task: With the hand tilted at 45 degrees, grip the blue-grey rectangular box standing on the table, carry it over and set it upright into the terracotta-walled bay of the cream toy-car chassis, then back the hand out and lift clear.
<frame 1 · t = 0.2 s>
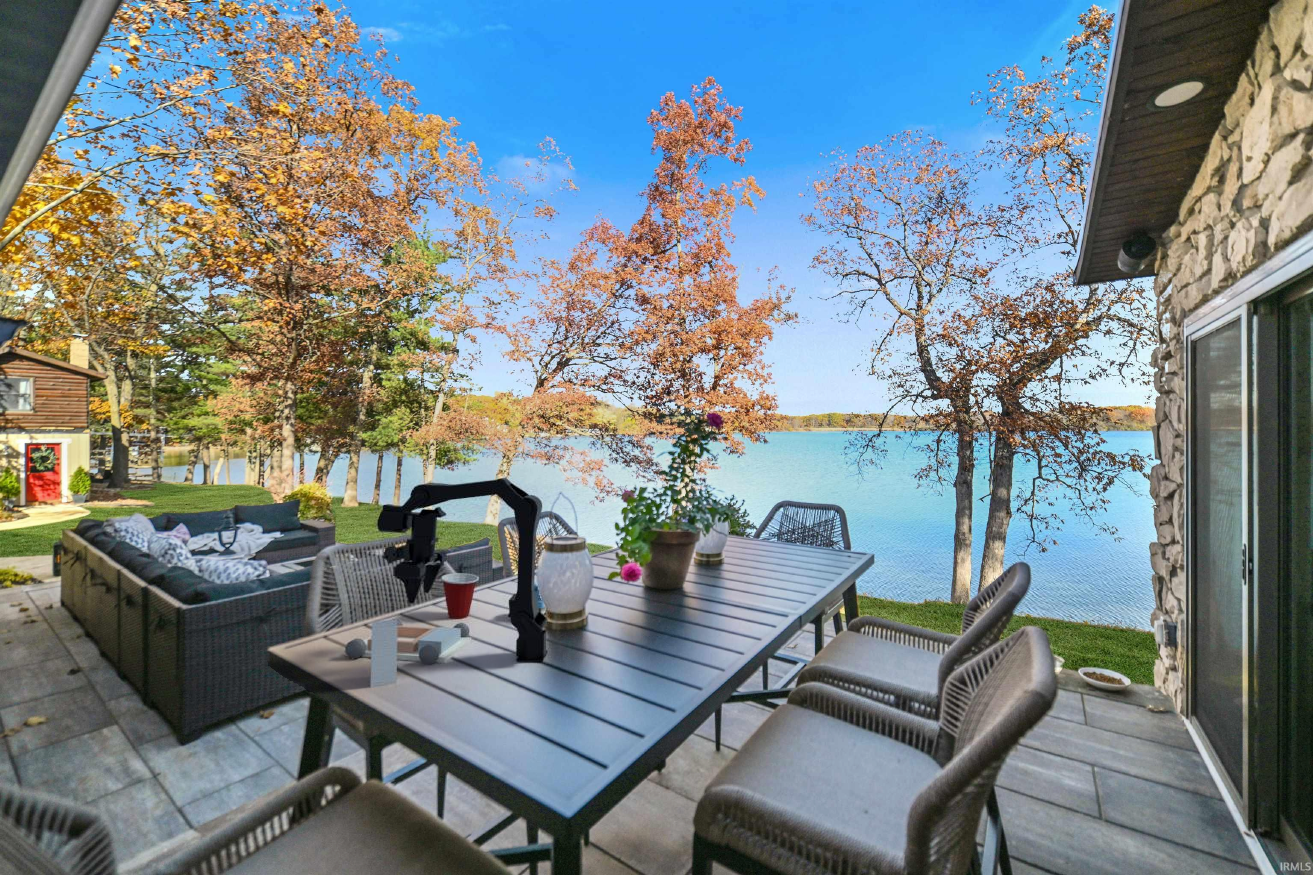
hand: (419, 597, 138), 14 cm above the table, tool pointing down, fingers open, 9 cm apart
blue-grey rectangular box: (383, 680, 124), on the table
chassis: (410, 648, 143), on the table
plastic cup: (459, 616, 170), on the table
toy excavator: (538, 619, 169), on the table
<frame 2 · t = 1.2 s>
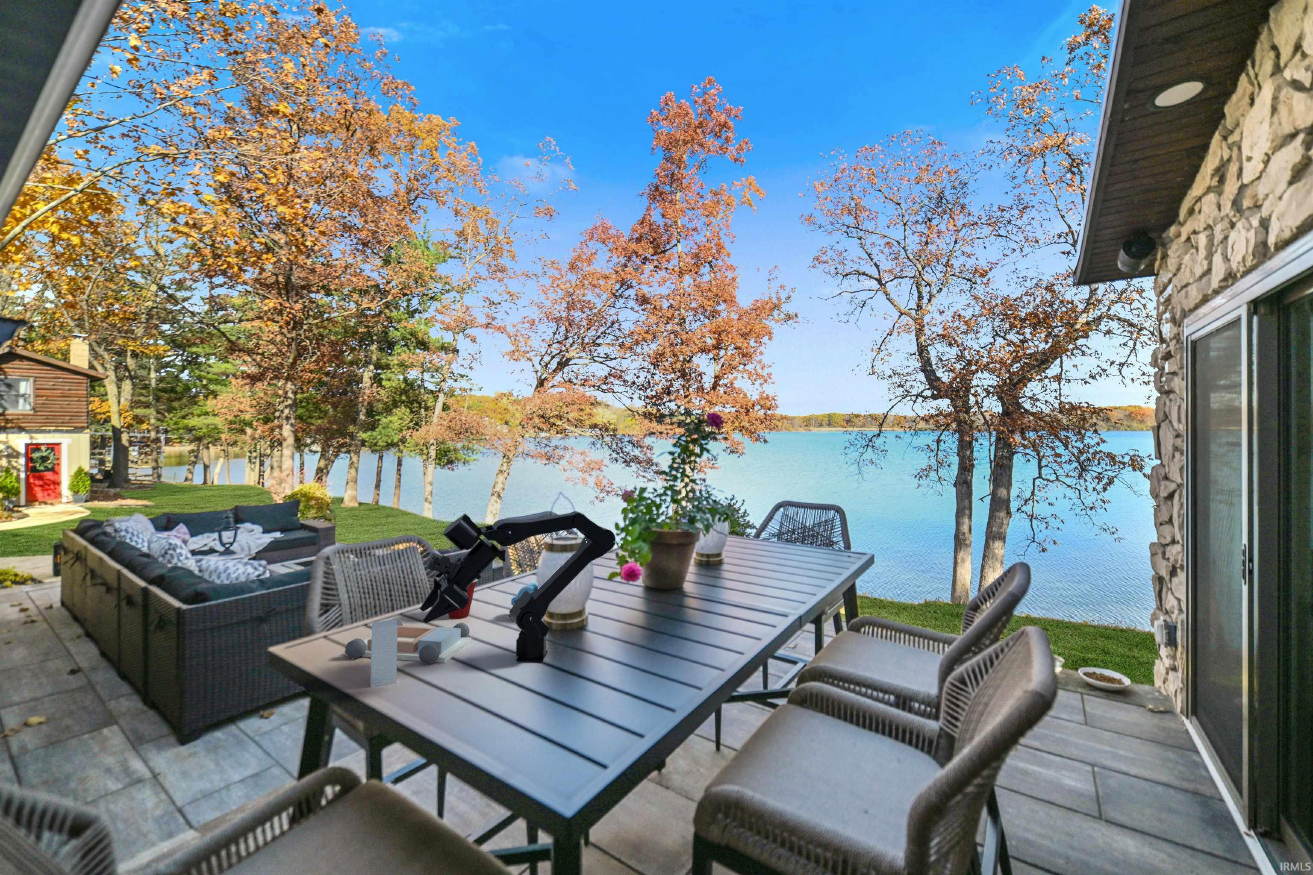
hand: (422, 615, 128), 13 cm above the table, tool tilted 45°, fingers open, 9 cm apart
nothing on the table moved.
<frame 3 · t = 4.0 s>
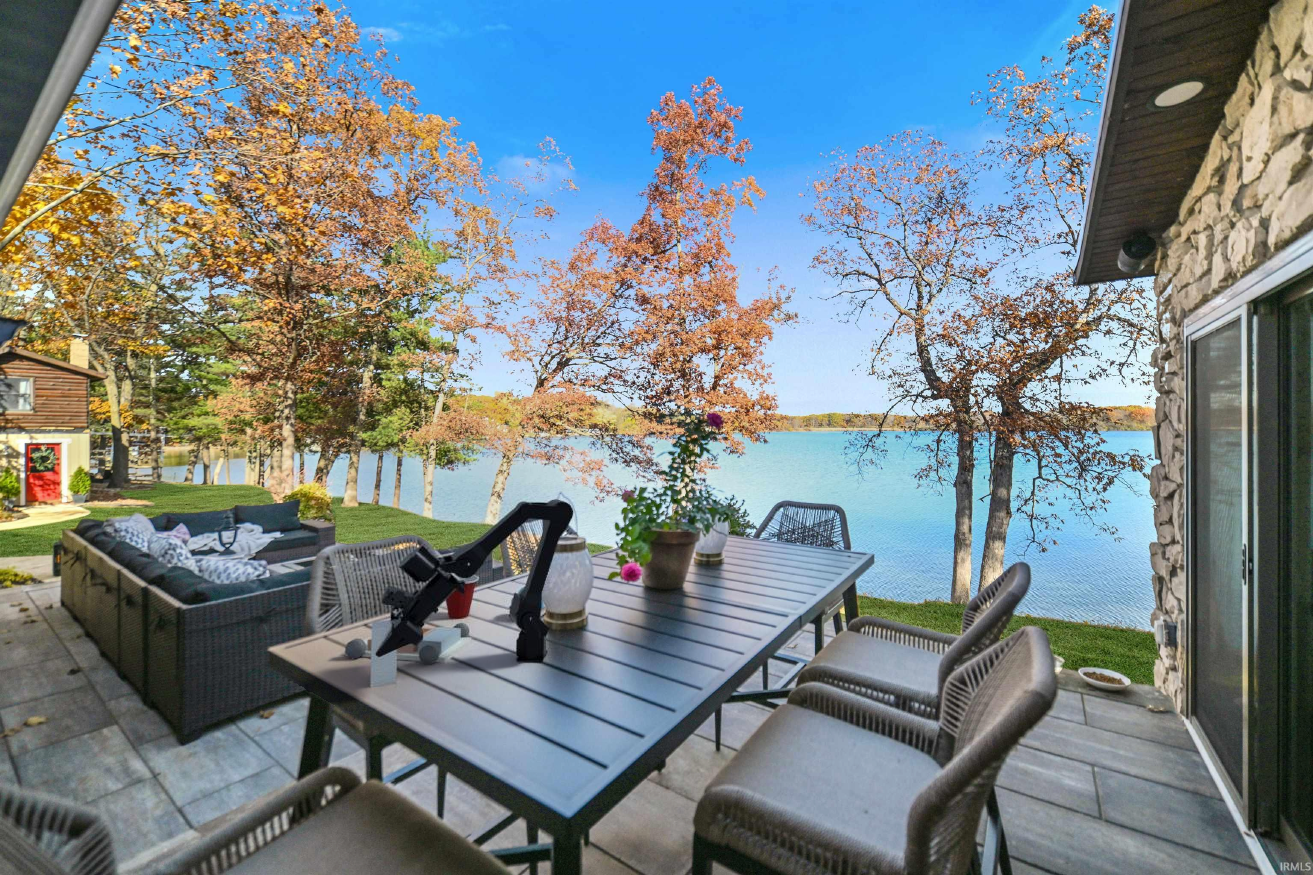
hand: (376, 651, 123), 7 cm above the table, tool tilted 45°, fingers closed on blue-grey rectangular box, 5 cm apart
blue-grey rectangular box: (383, 680, 124), on the table, touching gripper
everything else where it was.
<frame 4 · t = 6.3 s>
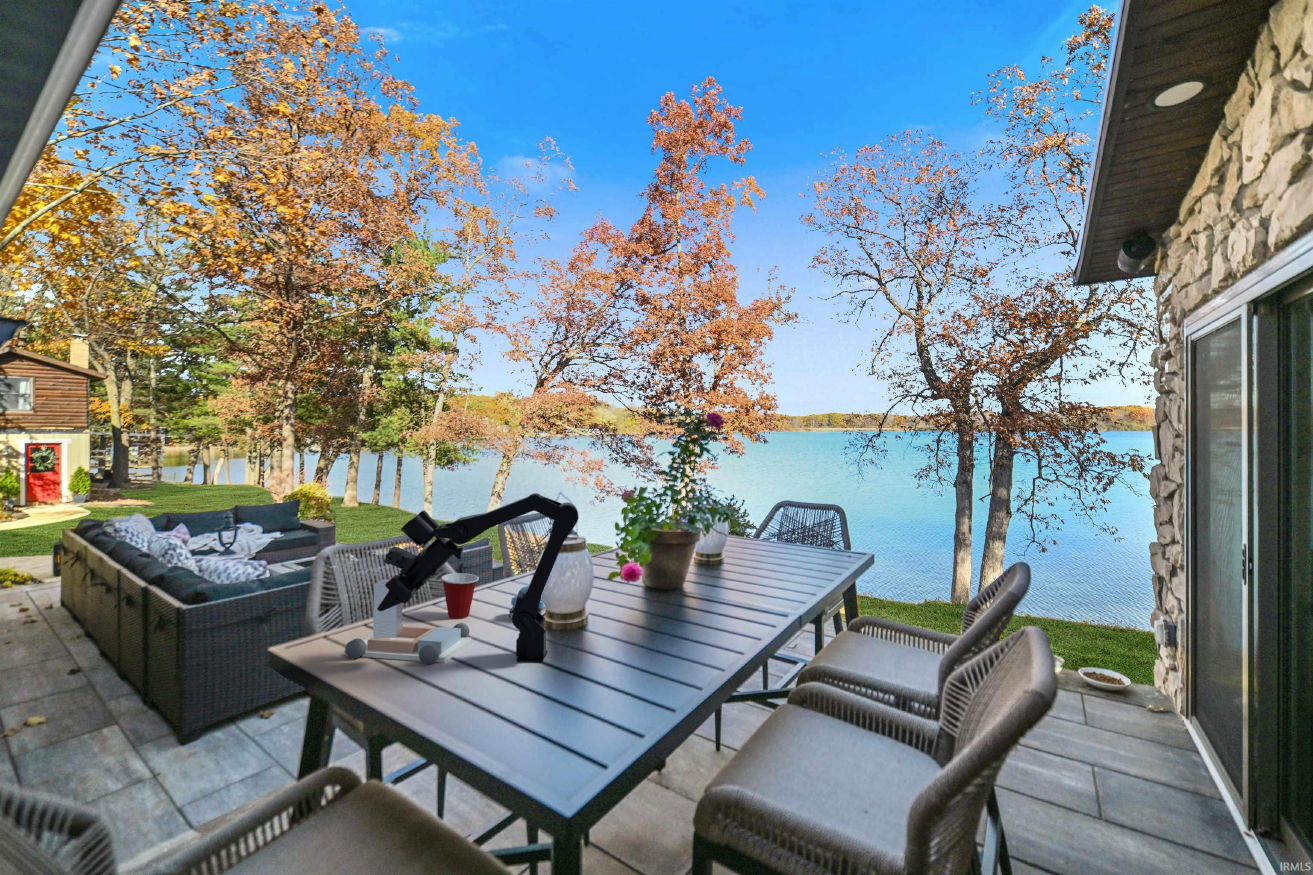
hand: (382, 606, 133), 13 cm above the table, tool tilted 45°, fingers closed on blue-grey rectangular box, 5 cm apart
blue-grey rectangular box: (387, 634, 133), point 7 cm above the table, touching gripper
everything else where it was.
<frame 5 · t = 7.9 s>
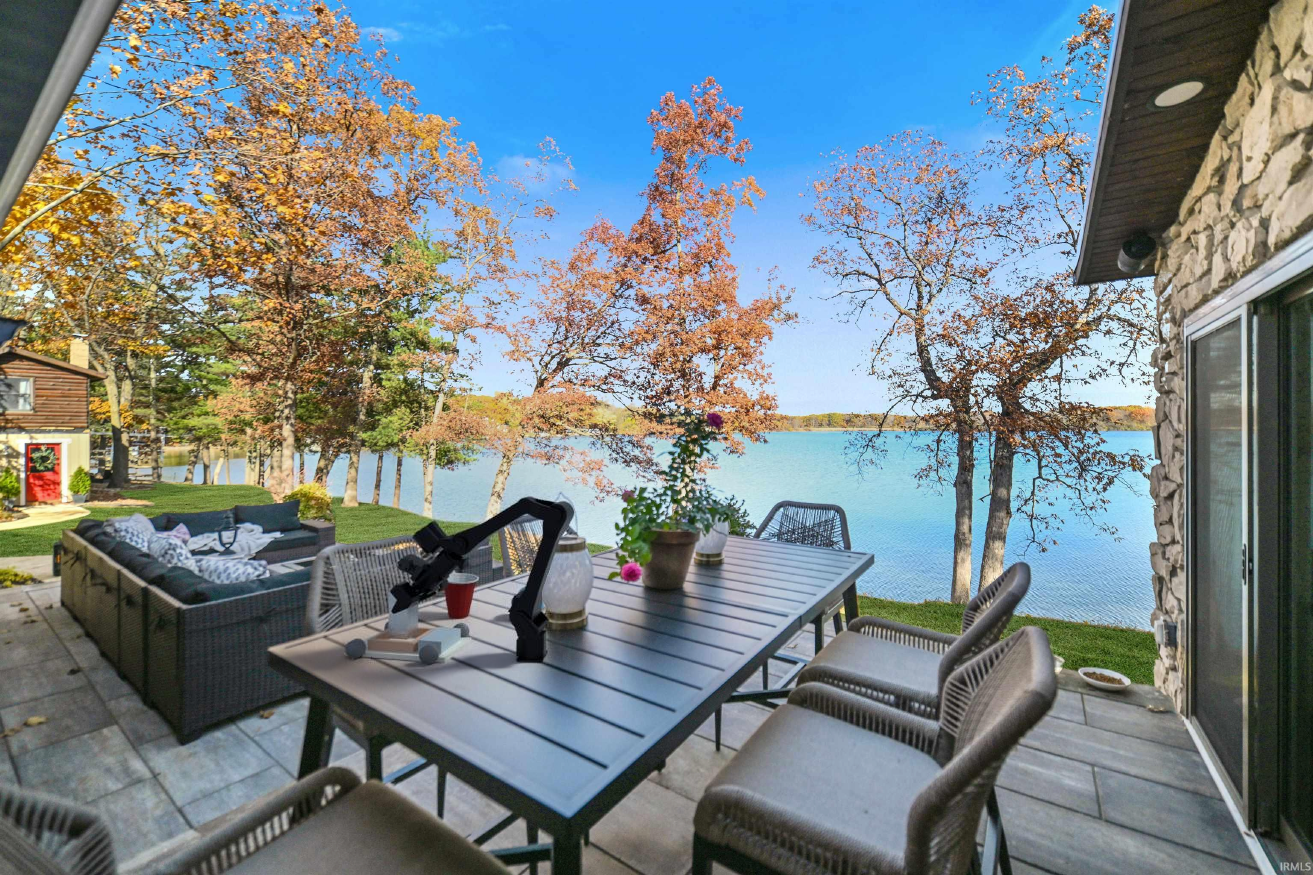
hand: (398, 609, 143), 10 cm above the table, tool tilted 45°, fingers closed on blue-grey rectangular box, 5 cm apart
blue-grey rectangular box: (403, 635, 143), point 3 cm above the table, touching gripper
everything else where it was.
when the fingers open (9 cm above the table, at t = 8.9 s): blue-grey rectangular box drops 1 cm, resting on chassis.
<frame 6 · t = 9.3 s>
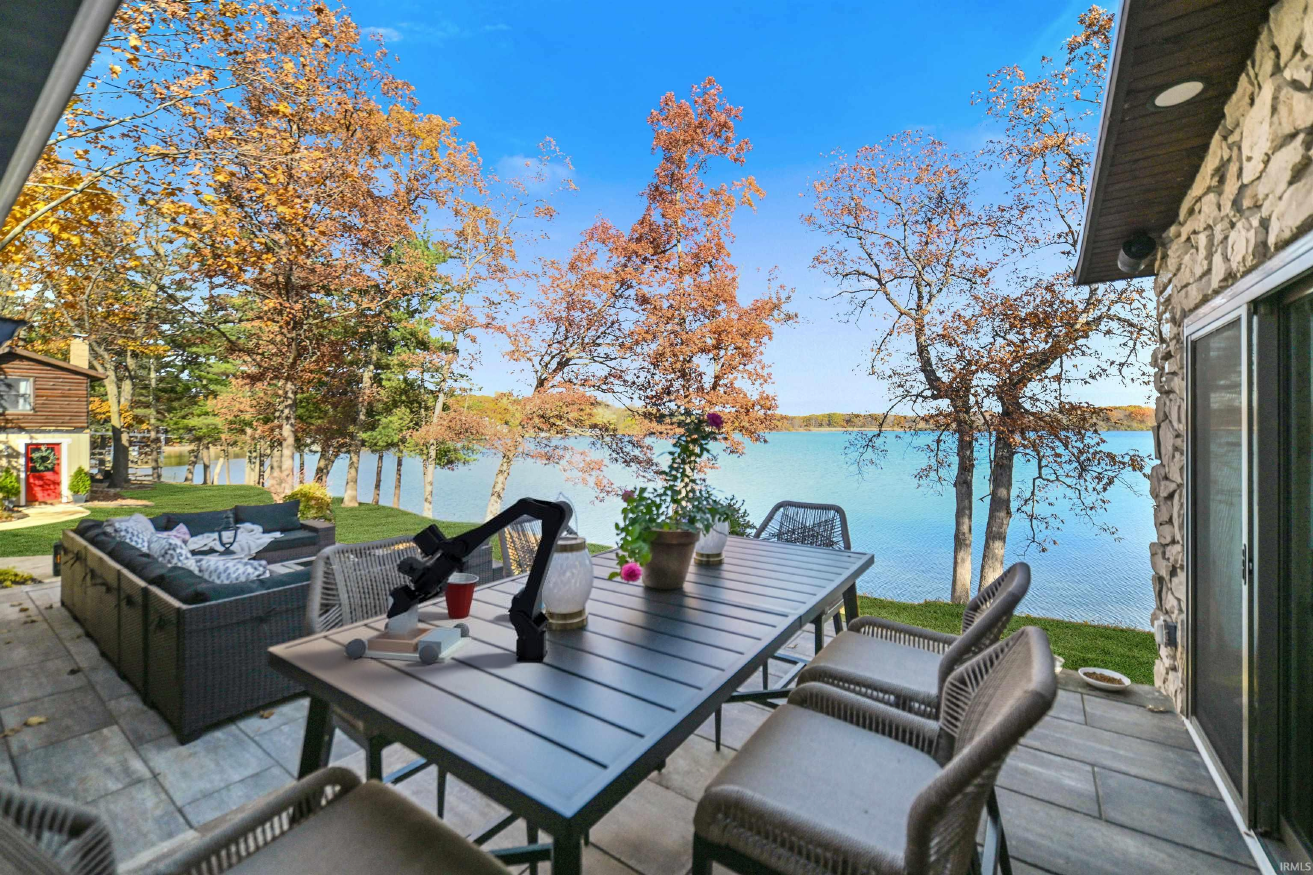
hand: (398, 611, 143), 9 cm above the table, tool tilted 45°, fingers open, 9 cm apart
blue-grey rectangular box: (402, 643, 143), point 1 cm above the table, touching chassis
everything else where it was.
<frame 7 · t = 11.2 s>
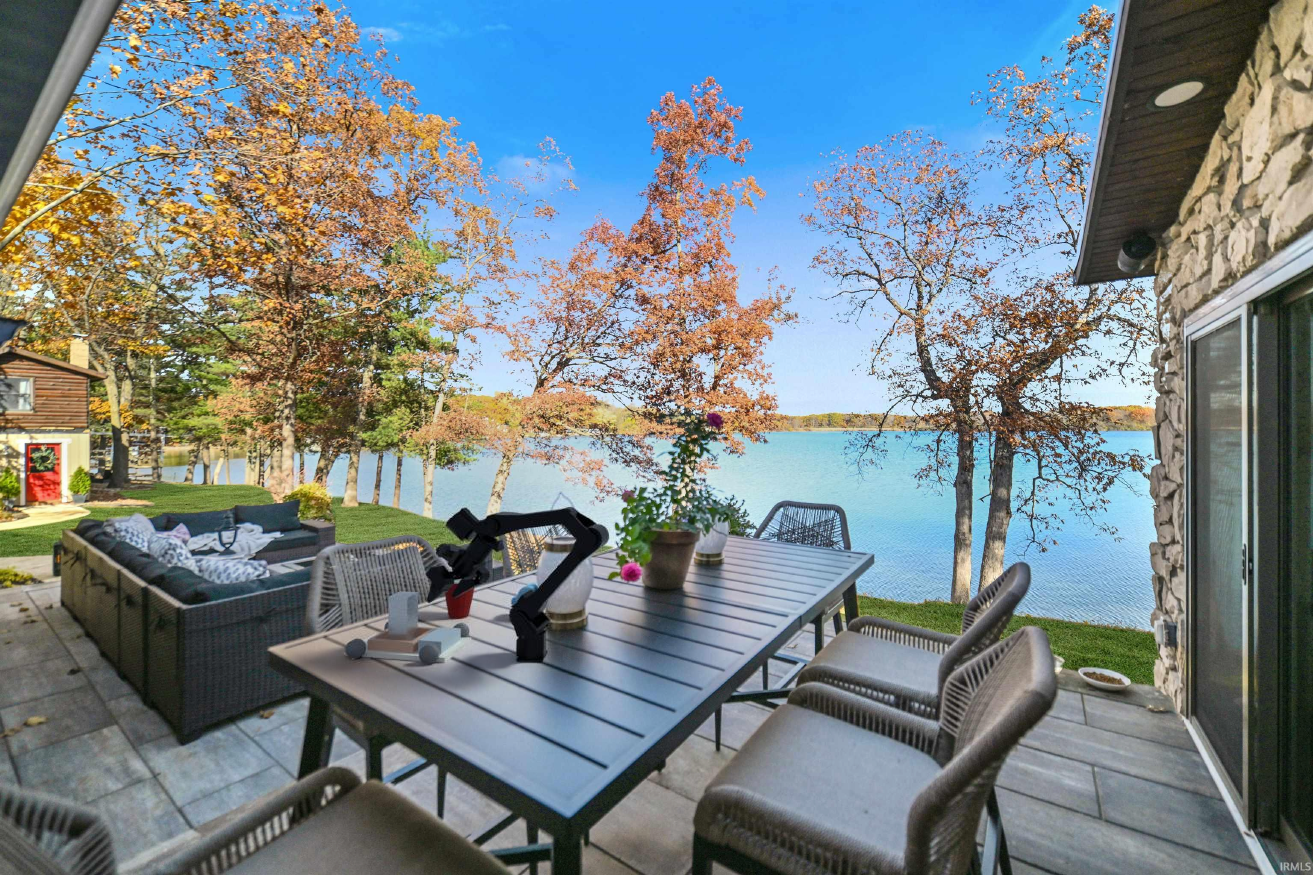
hand: (440, 599, 144), 12 cm above the table, tool tilted 40°, fingers open, 9 cm apart
nothing on the table moved.
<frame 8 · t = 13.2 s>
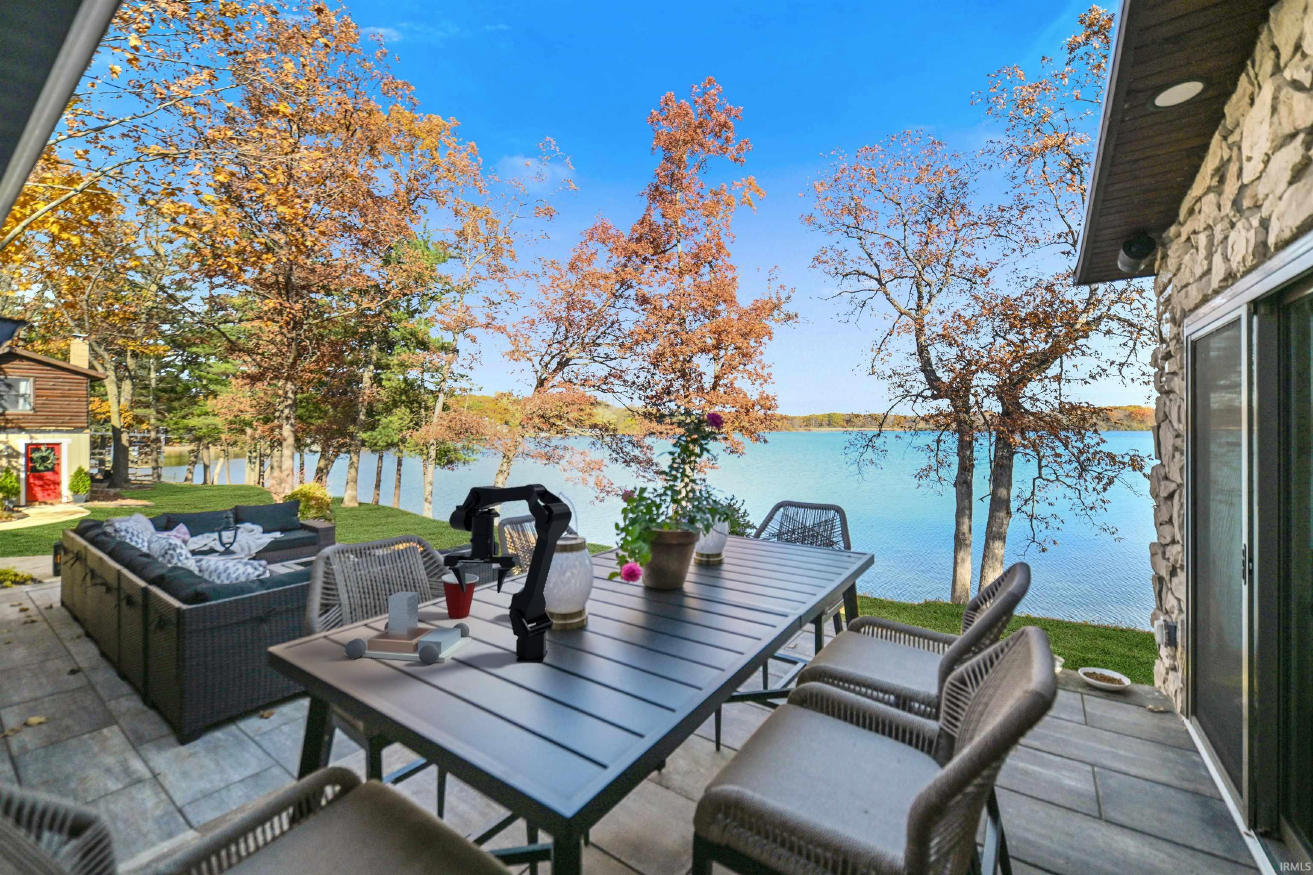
hand: (481, 592, 149), 13 cm above the table, tool pointing down, fingers open, 9 cm apart
nothing on the table moved.
at the end: blue-grey rectangular box inside the target area on the chassis (0.0 cm from its centre), point 1.2 cm above the chassis's base; blue-grey rectangular box tilted 0°; the gripper is holding nothing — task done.
